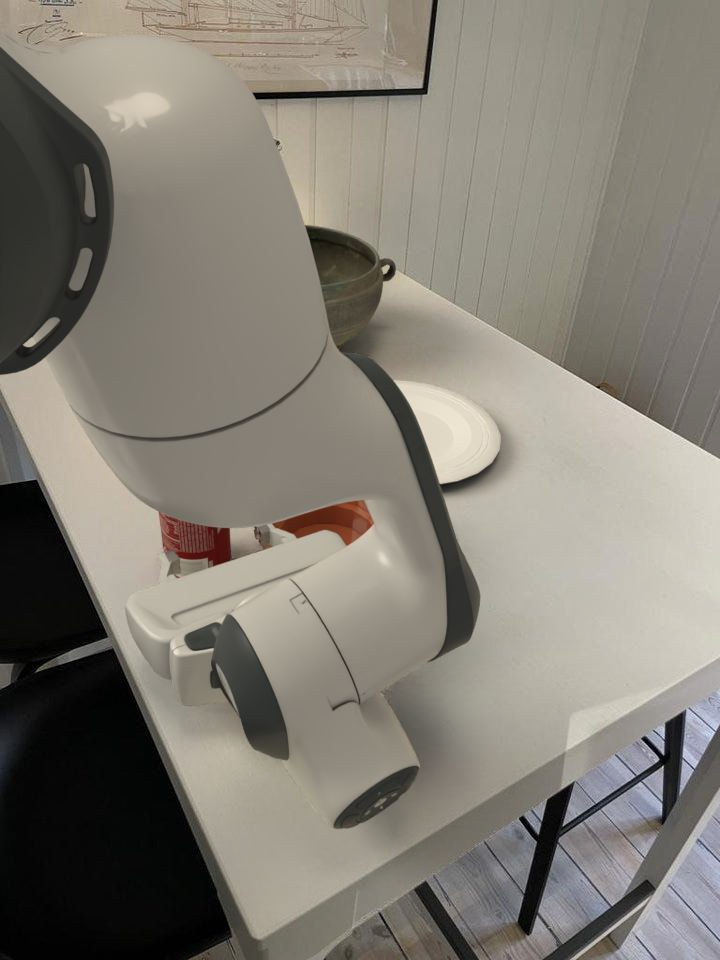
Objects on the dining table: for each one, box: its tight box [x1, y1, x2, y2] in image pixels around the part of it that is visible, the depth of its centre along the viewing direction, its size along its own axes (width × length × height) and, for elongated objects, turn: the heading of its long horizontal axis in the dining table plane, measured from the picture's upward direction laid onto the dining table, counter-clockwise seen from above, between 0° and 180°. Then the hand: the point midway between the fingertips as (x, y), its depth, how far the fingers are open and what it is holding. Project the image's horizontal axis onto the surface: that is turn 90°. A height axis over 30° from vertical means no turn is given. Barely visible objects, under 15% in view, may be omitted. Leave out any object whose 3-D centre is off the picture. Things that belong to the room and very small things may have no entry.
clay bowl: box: [261, 500, 374, 551], centre depth 79 cm, size 14×14×6 cm
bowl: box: [305, 224, 397, 351], centre depth 116 cm, size 32×26×15 cm
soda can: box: [158, 511, 232, 579], centre depth 75 cm, size 7×7×12 cm
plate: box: [392, 379, 502, 486], centre depth 100 cm, size 25×25×2 cm
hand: (214, 541), depth 71 cm, fingers open, 8 cm apart
